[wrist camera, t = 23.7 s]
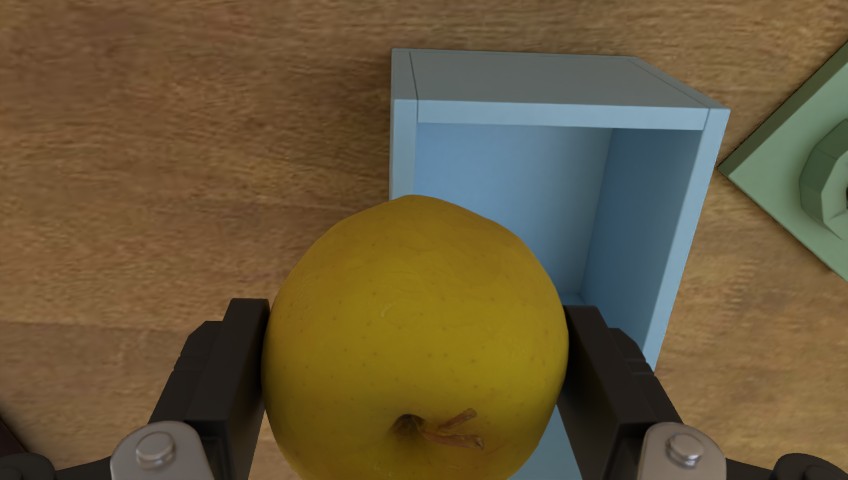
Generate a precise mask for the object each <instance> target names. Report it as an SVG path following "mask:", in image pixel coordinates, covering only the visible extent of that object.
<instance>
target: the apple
mask: <svg viewBox="0 0 848 480" xmlns="http://www.w3.org/2000/svg"><path fill="white" fill-rule="evenodd" d="M568 353H569V335H568V329H567V324H566V319H565V314H564V310H563V307H562V304H561V301H560V299H559V296H558V293H557V291H556V288H555V286H554V285H553V283H552V281H551V279H550V277H549V276H548V274H547V273H546V271H545V270H544V268H543V267H542V265H541V264H540V262H539V261H538V260H537V258H536V257H535V255H534V254H533V253H532V251H531V250H530V249H529V248H528V247H527V246H526V244H525V243H524V242H523V241H522V240H521V238H520V237H518V236H517V235H515V234H514V233H513V232H511V231H510V230H508V229H507V228H505V227H504V226H502V225H500V224H499V223H497V222H495V221H493V220H490V219H487V218H485V217H483V216H481V215H479V214H477V213H474V212H472V211H470V210H468V209H465V208H463V207H461V206H459V205H456V204H453V203H450V202H447V201H444V200H442V199H438V198H434V197H430V196H423V195H404V196H401V197H399V198H396V199H393V200H390V201H387V202H385V203H382V204H379V205H376V206H374V207H371V208H368V209H366V210H363V211H360V212H358V213H356V214H354V215H352V216H349V217H347V218H345V219H343V220H341V221H339V222H338V223H336V224H335V225H334V226H332V227H331V228H330V229H329V230H328V231H327V232H325V233H324V234H323V235H322V236H321V237H320V238H319V239H318V240H317V241H316V242H315V243H313V244H312V245H311V247H310V248H309V249H308V250H307V252H306V253H305V254H304V255H303V257H302V258H301V259H300V261H299V262H298V263H297V264H296V266H295V267H294V268H293V269H292V271H291V272H290V273H289V275H288V276H287V278H286V279H285V281H284V282H283V284H282V286H281V288H280V290H279V292H278V294H277V296H276V298H275V301H274V303H273V306H272V309H271V312H270V316H269V319H268V323H267V327H266V331H265V335H264V339H263V348H262V355H261V386H262V393H263V403H264V406H265V409H266V413H267V417H268V420H269V423H270V426H271V429H272V432H273V435H274V438H275V440H276V442H277V444H278V447H279V449H280V451H281V453H282V454H283V456H284V457H285V459H286V460H287V462H288V463H289V465H290V466H291V468H292V469H293V470H294V471H295V472H296V473H297V474H298V475H299V477H300V478H301V479H302V480H508V479H509V478H510V477H511V476H512V475H514V474H515V473H516V472H517V471H518V470H519V469H520V468H521V467H522V466H523V465H524V464H525V463H526V461H527V460H528V459H529V458H530V456H531V455H532V453H533V452H534V451H535V449H536V448H537V447H538V445H539V442H540V440H541V438H542V436H543V434H544V432H545V430H546V428H547V425H548V423H549V421H550V418H551V416H552V414H553V411H554V408H555V405H556V402H557V399H558V397H559V394H560V391H561V388H562V385H563V383H564V380H565V375H566V369H567V363H568Z"/></svg>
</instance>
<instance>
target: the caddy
mask: <svg viewBox="0 0 848 480" xmlns="http://www.w3.org/2000/svg"><path fill="white" fill-rule="evenodd" d="M730 111H731V110H730V109H729V108H728V107H726V106H724V105H722V104H720V103H719V102H717V101H715V100H713V99H711V98H710V97H708V96H706V95H704V94H702V93H701V92H699V91H697V90H695V89H694V88H692V87H690V86H688V85H686V84H685V83H683V82H681V81H679V80H677V79H676V78H674V77H672V76H670V75H668V74H667V73H665V72H663V71H661V70H660V69H658V68H656V67H654V66H652V65H651V64H649V63H647V62H645V61H643V60H642V59H640V58H638V57H636V56H608V55H579V54H551V53H522V52H494V51H466V50H437V49H409V48H392V57H391V112H390V167H389V201H390V200H393V199H396V198H399V197H401V196H404V195H423V196H430V197H434V198H438V199H442V200H444V201H447V202H450V203H453V204H456V205H459V206H461V207H463V208H465V209H468V210H470V211H472V212H474V213H477V214H479V215H481V216H483V217H485V218H487V219H490V220H493V221H495V222H497V223H499V224H500V225H502V226H504V227H505V228H507V229H508V230H510V231H511V232H513V233H514V234H515V235H517V236H518V237H520V238H521V240H522V241H523V242H524V243H525V244H526V246H527V247H528V248H529V249H530V250H531V251H532V253H533V254H534V255H535V257H536V258H537V260H538V261H539V262H540V264H541V265H542V267H543V268H544V270H545V271H546V273H547V274H548V276H549V277H550V279H551V281H552V283H553V285H554V286H555V288H556V291H557V293H558V296H559V299H560V301H561V304H562V305H595V306H596V307H597V308H598V309H599V311H600V313H601V315H602V317H603V319H604V321H605V323H606V324H607V326H608V328H620V329H621V330H622V331H623V332H624V333H626V334H627V335H628V336H629V337H630V338H632V339H633V340H634V341H635V342H636V343H637V344H638V346H639V348H640V350H641V351H642V353H643V355H644V356H645V358H646V363H649V365H650V367H651V368H652V370H653V372H654V369H655V366H656V362H657V359H658V355H659V352H660V349H661V345H662V342H663V338H664V335H665V332H666V328H667V325H668V321H669V318H670V315H671V311H672V308H673V305H674V301H675V298H676V294H677V291H678V288H679V284H680V281H681V277H682V274H683V271H684V267H685V264H686V260H687V257H688V254H689V250H690V247H691V244H692V240H693V237H694V233H695V230H696V227H697V223H698V220H699V216H700V213H701V210H702V206H703V203H704V199H705V196H706V193H707V189H708V186H709V182H710V179H711V176H712V172H713V169H714V166H715V162H716V159H717V155H718V152H719V149H720V145H721V142H722V138H723V135H724V132H725V128H726V125H727V121H728V118H729V115H730Z"/></svg>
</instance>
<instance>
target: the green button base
mask: <svg viewBox="0 0 848 480" xmlns="http://www.w3.org/2000/svg"><path fill="white" fill-rule="evenodd" d="M717 169H718V170H719V171H720V172H721V173H722V174H723V175H724V176H726V177H727V178H728V179H729V180H730V181H731V182H732V183H734V184H735V185H736V186H737V187H738V188H739V189H740V190H742V191H743V192H744V193H745V194H746V195H747V196H748V197H749V198H751V199H752V200H753V201H754V202H755V203H756V204H757V205H759V206H760V207H761V208H762V209H763V210H764V211H765V212H767V213H768V214H769V215H770V216H771V217H772V218H773V219H774V220H776V221H777V222H778V223H779V224H780V225H781V226H782V227H784V228H785V229H786V230H787V231H788V232H789V233H790V234H791V235H793V236H794V237H795V238H796V239H797V240H798V241H799V242H801V243H802V244H803V245H804V246H805V247H806V248H807V249H809V250H810V251H811V252H812V253H813V254H814V255H815V256H816V257H818V258H819V259H820V260H821V261H822V262H823V263H824V264H826V265H827V266H828V267H829V268H830V269H831V270H832V271H833V272H835V273H836V274H837V275H838V276H840V277H841V278H842V279H843V280H845V281H846V282H848V195H847V191H848V42H847V43H846V44H845V45H844V46H843V47H842V48H841V49H840V50H839V51H838V52H837V53H836V54H834V55H833V56H832V57H831V58H830V59H829V60H828V61H827V62H826V63H825V64H824V65H823V66H822V67H821V68H820V69H819V70H818V71H817V72H816V73H815V74H814V75H813V76H812V77H811V78H810V79H809V80H808V81H807V82H806V83H805V84H803V85H802V86H801V87H800V88H799V89H798V90H797V91H796V92H795V93H794V94H793V95H792V96H791V97H790V98H789V99H788V100H787V101H786V102H785V103H784V104H783V105H782V106H781V107H780V108H779V109H778V110H777V111H776V112H775V113H773V114H772V115H771V116H770V117H769V118H768V119H767V120H766V121H765V122H764V123H763V124H762V125H761V126H760V127H759V128H758V129H757V130H756V131H755V132H754V133H753V134H752V135H751V136H750V137H749V138H748V139H747V140H746V141H745V142H743V143H742V144H741V145H740V146H739V147H738V148H737V149H736V150H735V151H734V152H733V153H732V154H731V155H730V156H729V157H728V158H727V159H726V160H725V161H724V162H723V163H722V164H721V165H720V166H719V167H718V168H717Z"/></svg>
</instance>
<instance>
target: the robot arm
mask: <svg viewBox="0 0 848 480" xmlns="http://www.w3.org/2000/svg"><path fill="white" fill-rule="evenodd" d="M562 307H563V310H564V314H565V319H566V324H567V329H568V335H569V353H568V363H567V369H566V375H565V380H564V383H563V385H562V388H561V391H560V394H559V397H558V399H557V402H556V405H557V408H558V410H559V413H560V416H561V419H562V422H563V425H564V428H565V431H566V434H567V436H568V439H569V442H570V445H571V448H572V451H573V454H574V457H575V460H576V462H577V465H578V468H579V471H580V474H581V477H582V480H848V474H847V473H845V472H844V471H843V470H841V469H840V468H838V467H837V466H835V465H833V464H831V463H830V462H828V461H825V460H823V459H821V458H818V457H815V456H812V455H808V454H802V453H791V454H786V455H784V456H782V457H781V458H779V459H778V461H777V462H776V464H775V466H774V468H773V470H769V469H765V468H761V467H757V466H753V465H749V464H745V463H741V462H737V461H734V460H731V459H728V458H725V456H724V454H723V452H722V451H721V449H720V448H719V446H718V445H717V444H716V443H715V442H714V441H713V440H712V439H711V438H710V437H708V436H707V435H706V434H704V433H703V432H701V431H699V430H697V429H695V428H693V427H691V426H688V425H685V424H684V423H683V422H682V420H681V418H680V417H679V415H678V413H677V411H676V410H675V408H674V406H673V405H672V403H671V401H670V399H669V398H668V396H667V394H666V393H665V391H664V389H663V387H662V386H661V384H660V382H659V380H658V379H657V377H654V372H653V370H652V368H651V367H650V365H649V363H646V358H645V356H644V355H643V353H642V351H641V350H640V348H639V346H638V344H637V343H636V342H635V341H634V340H633V339H632V338H630V337H629V336H628V335H627V334H626V333H624V332H623V331H622V330H621V329H620V328H608V326H607V324H606V323H605V321H604V319H603V317H602V315H601V313H600V311H599V309H598V308H597V307H596V306H595V305H562ZM269 316H270V306H269V301H268V299H252V298H233V299H232V300H231V301H230V304H229V306H228V309H227V311H226V314H225V316H224V319H223V321H205V322H204V323H203V324H202V325H201V326H199V327H198V328H197V329H196V330H195V331H194V332H193V333H191V334H190V335H189V336H188V338H187V341H186V343H185V345H184V347H183V349H182V351H181V353H180V354H181V355H180V357H179V358H178V360H177V362H176V364H175V366H174V371H172V373H171V375H170V377H169V379H168V381H167V383H166V385H165V388H164V390H163V392H162V394H161V396H160V398H159V400H158V403H157V405H156V407H155V409H154V411H153V413H152V415H151V418H150V420H149V422H148V424H147V425H145V426H143V427H140V428H139V429H137V430H135V431H133V432H132V433H130V434H129V435H127V436H126V437H125V438H124V439H123V440H122V441H121V442H120V443H119V444H118V445H117V447H116V448H115V450H114V451H113V454H112V456H109V457H107V458H104V459H101V460H98V461H95V462H91V463H87V464H83V465H79V466H75V467H71V468H67V469H63V470H59V471H55V470H54V467H53V465H52V463H51V462H50V461H49V459H47V458H46V457H44V456H42V455H39V454H34V453H17V454H12V455H7V456H4V457H1V458H0V480H248V476H249V472H250V468H251V464H252V460H253V456H254V452H255V448H256V444H257V439H258V435H259V431H260V427H261V423H262V419H263V415H264V411H265V406H264V403H263V393H262V386H261V355H262V348H263V339H264V335H265V331H266V327H267V323H268V319H269Z"/></svg>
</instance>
